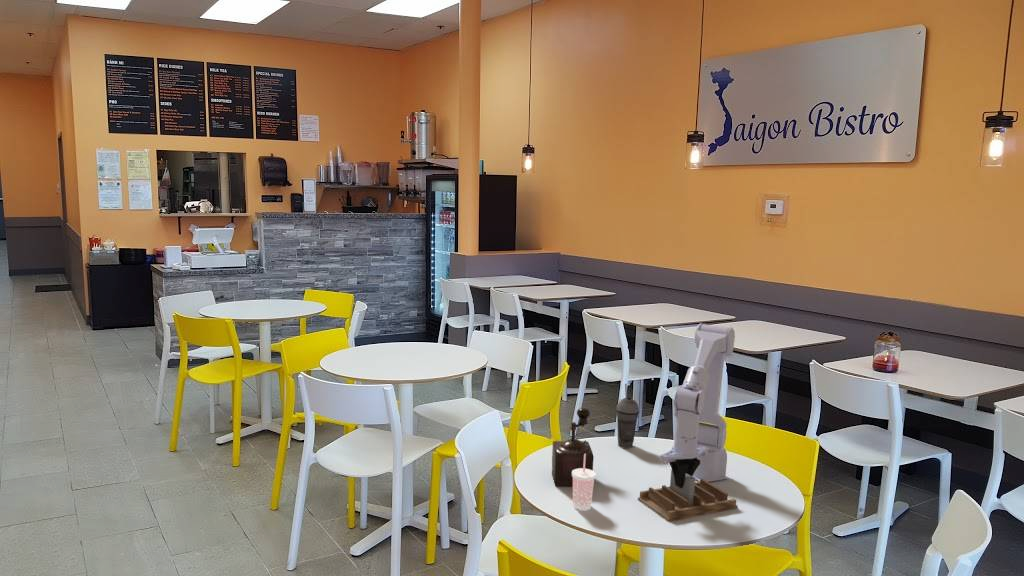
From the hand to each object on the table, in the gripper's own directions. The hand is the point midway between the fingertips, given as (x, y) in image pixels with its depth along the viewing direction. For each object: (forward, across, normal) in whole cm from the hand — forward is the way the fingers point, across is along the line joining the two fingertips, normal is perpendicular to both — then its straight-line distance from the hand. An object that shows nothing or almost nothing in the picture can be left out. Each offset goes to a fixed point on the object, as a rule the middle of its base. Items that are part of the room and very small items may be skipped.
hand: (682, 485), depth 185 cm
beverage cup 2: (+6, -14, -40) cm, 43 cm away
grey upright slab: (+5, 0, 0) cm, 5 cm away
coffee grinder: (+6, +15, -28) cm, 32 cm away
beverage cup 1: (+6, +24, -10) cm, 27 cm away
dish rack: (+5, -2, 0) cm, 6 cm away
